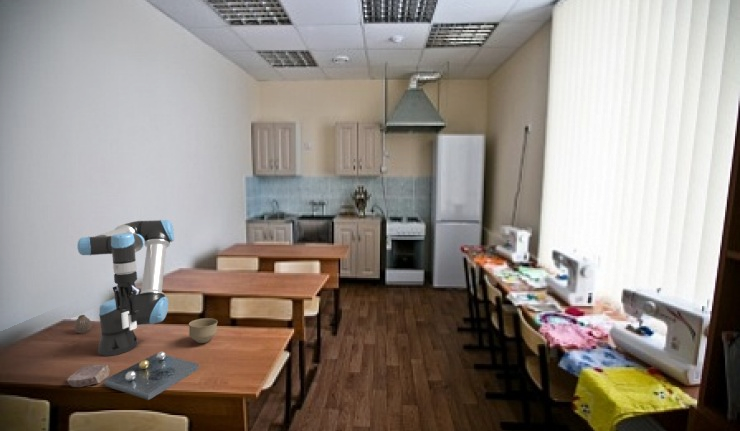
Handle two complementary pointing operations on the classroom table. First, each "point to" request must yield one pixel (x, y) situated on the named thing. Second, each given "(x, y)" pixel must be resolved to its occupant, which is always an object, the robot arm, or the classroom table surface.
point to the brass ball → (144, 364)
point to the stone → (89, 375)
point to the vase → (82, 324)
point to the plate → (152, 376)
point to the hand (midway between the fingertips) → (129, 328)
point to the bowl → (203, 329)
